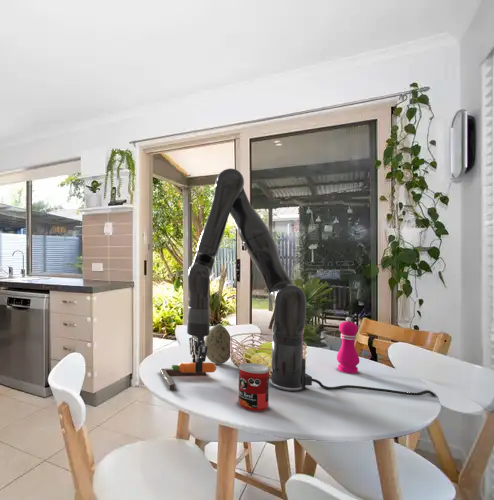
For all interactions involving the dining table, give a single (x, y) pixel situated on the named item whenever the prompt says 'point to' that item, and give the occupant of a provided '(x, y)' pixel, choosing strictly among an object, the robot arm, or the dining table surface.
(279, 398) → the dining table surface
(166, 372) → the corner guide
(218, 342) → the decorative egg
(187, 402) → the dining table surface
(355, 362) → the pepper mill
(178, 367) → the carrot
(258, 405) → the canned food
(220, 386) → the dining table surface
